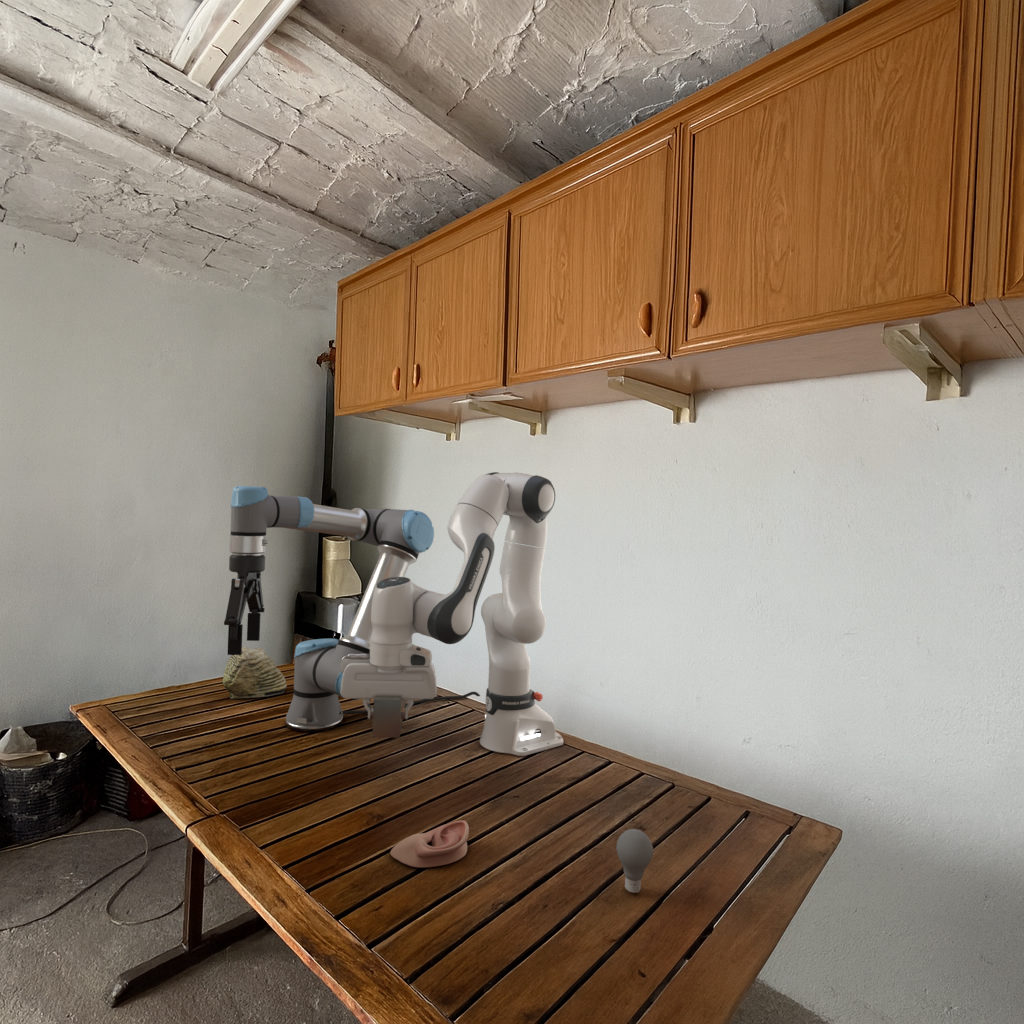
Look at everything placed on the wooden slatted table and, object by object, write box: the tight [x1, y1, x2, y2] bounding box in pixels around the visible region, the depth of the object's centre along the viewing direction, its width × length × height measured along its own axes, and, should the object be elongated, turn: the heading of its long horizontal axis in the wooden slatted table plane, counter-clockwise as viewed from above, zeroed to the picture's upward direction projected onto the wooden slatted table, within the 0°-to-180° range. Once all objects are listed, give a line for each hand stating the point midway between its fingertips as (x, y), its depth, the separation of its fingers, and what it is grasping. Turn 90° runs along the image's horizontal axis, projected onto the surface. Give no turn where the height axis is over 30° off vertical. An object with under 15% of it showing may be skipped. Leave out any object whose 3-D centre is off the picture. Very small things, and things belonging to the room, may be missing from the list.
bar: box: [372, 696, 407, 739], centre depth 143 cm, size 22×6×8 cm, turn 6°
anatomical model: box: [389, 819, 470, 869], centre depth 115 cm, size 13×4×12 cm
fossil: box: [222, 646, 288, 699], centre depth 198 cm, size 9×18×15 cm, turn 132°
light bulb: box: [615, 828, 654, 894], centre depth 106 cm, size 6×6×10 cm
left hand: (244, 647), depth 144 cm, fingers open, 13 cm apart
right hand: (388, 718), depth 135 cm, fingers closed on bar, 5 cm apart
